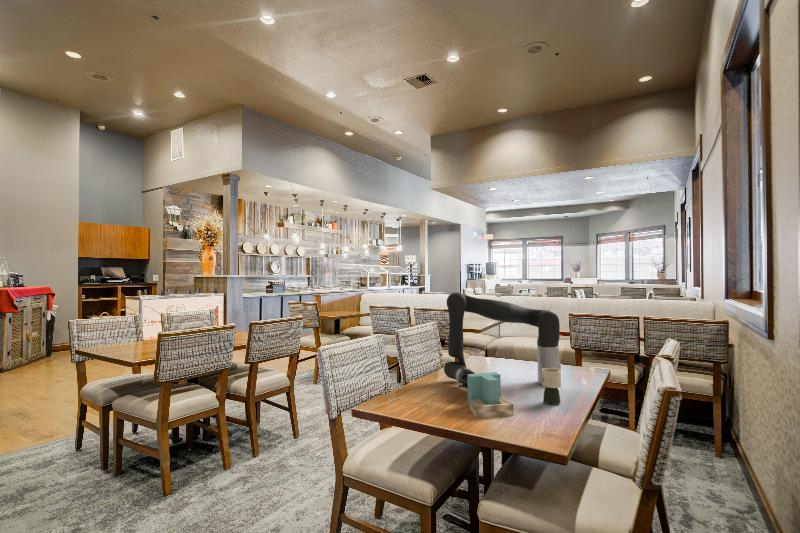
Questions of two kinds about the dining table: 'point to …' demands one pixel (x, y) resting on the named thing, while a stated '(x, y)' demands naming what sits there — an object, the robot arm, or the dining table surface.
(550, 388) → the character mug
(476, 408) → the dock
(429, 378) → the dining table surface
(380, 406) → the dining table surface
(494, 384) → the t block
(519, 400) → the dining table surface
